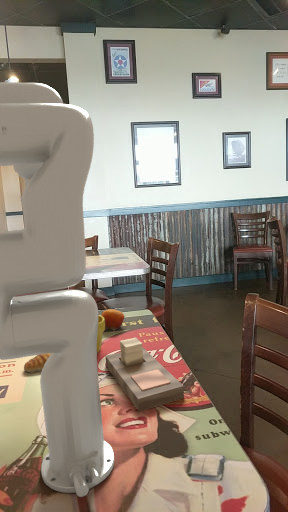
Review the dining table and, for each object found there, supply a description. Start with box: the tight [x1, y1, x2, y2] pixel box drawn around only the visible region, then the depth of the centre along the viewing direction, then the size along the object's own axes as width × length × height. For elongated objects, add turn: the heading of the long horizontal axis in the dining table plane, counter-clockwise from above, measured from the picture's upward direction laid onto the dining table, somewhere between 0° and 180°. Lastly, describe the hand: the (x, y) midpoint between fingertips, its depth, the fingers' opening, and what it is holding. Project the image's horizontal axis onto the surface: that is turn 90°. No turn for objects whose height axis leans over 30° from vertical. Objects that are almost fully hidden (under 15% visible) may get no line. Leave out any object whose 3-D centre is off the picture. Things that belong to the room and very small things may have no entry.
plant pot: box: [97, 314, 106, 354], centre depth 113 cm, size 10×10×10 cm
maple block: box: [119, 337, 143, 367], centre depth 99 cm, size 4×4×8 cm
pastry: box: [23, 353, 51, 374], centre depth 105 cm, size 9×7×4 cm
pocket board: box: [104, 346, 185, 412], centre depth 94 cm, size 24×11×3 cm, turn 23°
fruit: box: [100, 308, 125, 333], centre depth 130 cm, size 8×8×8 cm
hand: (48, 264), depth 101 cm, fingers open, 9 cm apart
